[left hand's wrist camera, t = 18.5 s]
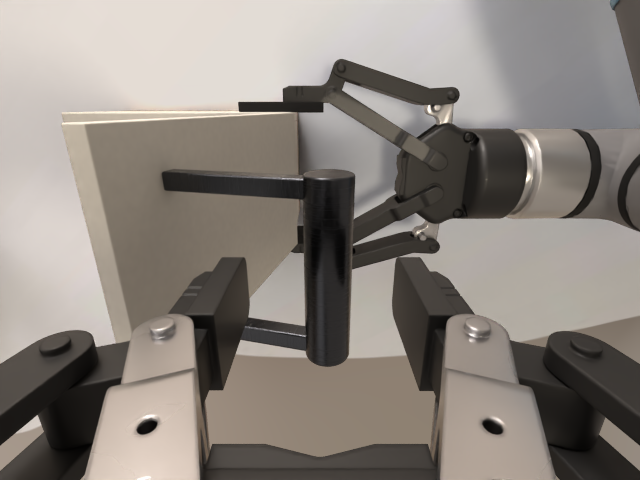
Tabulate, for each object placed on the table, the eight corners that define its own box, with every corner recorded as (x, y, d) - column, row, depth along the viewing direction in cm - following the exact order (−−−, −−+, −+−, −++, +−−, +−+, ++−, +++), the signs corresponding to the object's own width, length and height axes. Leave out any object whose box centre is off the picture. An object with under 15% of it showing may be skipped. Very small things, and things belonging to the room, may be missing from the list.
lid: (131, 407, 13) (330, 455, 11) (59, 122, 10) (334, 126, 8) (288, 242, 29) (381, 251, 27) (283, 112, 26) (391, 112, 24)
